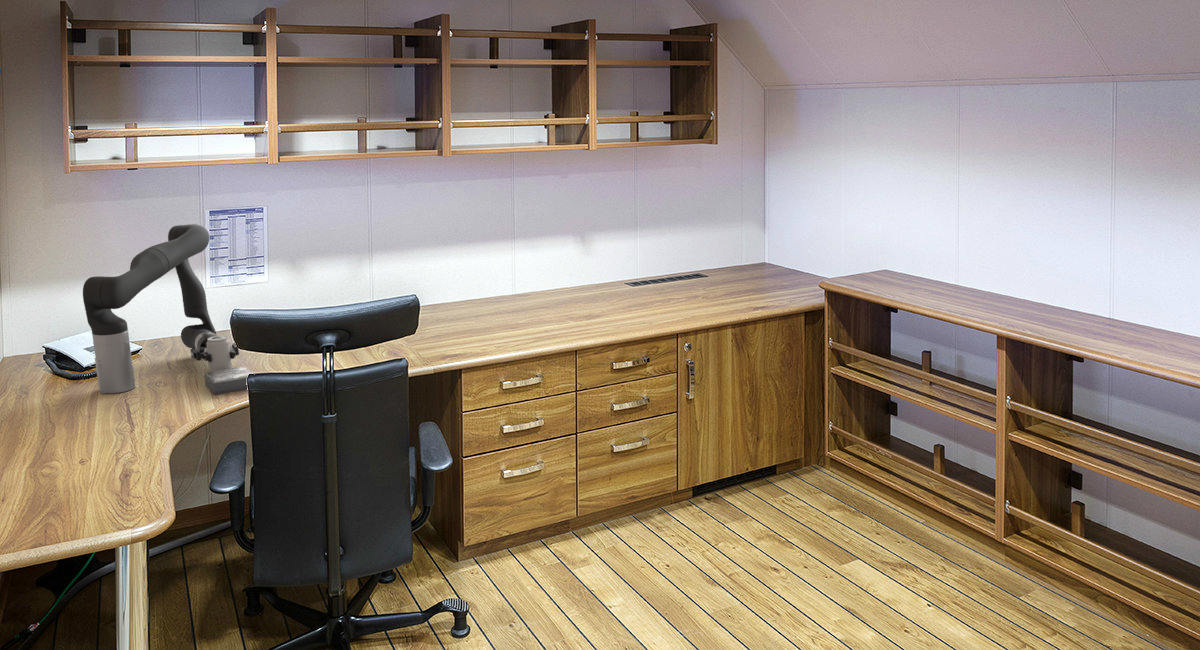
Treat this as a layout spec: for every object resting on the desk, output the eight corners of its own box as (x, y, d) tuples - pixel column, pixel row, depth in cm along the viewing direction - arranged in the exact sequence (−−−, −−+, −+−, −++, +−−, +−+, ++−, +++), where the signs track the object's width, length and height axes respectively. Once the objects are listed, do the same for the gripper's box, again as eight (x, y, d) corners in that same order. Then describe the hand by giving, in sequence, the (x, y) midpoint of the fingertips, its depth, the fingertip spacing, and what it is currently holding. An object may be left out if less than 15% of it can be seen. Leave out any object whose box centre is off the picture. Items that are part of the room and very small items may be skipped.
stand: (214, 395, 269) (212, 381, 269) (205, 385, 279) (204, 372, 278) (257, 388, 276) (256, 374, 275) (247, 378, 286) (246, 365, 285)
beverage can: (225, 372, 291) (221, 334, 289) (236, 375, 287) (232, 337, 285) (205, 376, 287) (201, 338, 284) (217, 380, 283) (212, 341, 280)
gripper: (183, 337, 293) (194, 348, 279) (232, 330, 300) (245, 341, 287) (186, 360, 294) (197, 372, 281) (234, 353, 302) (247, 365, 288)
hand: (221, 356), depth 284 cm, fingers closed on beverage can, 6 cm apart
